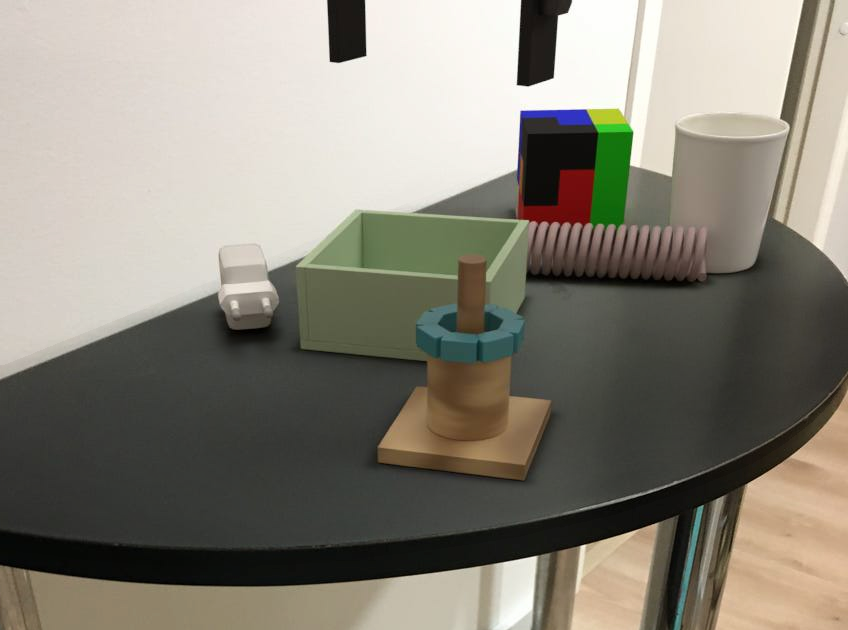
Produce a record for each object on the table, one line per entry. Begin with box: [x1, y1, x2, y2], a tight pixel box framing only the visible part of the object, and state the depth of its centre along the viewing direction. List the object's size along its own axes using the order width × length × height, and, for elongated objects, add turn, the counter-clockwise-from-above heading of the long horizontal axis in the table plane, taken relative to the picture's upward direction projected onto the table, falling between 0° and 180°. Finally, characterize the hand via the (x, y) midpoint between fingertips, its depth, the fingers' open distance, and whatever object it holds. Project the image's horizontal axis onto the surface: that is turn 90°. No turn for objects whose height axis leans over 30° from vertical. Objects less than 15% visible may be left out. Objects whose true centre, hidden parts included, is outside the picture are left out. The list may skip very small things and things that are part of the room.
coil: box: [526, 221, 708, 283], centre depth 101 cm, size 5×5×18 cm
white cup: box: [667, 111, 791, 274], centre depth 102 cm, size 10×10×12 cm
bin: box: [295, 208, 529, 362], centre depth 93 cm, size 16×16×7 cm
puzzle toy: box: [514, 108, 635, 233], centre depth 112 cm, size 10×10×10 cm
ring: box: [416, 303, 526, 364], centre depth 73 cm, size 7×7×1 cm
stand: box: [377, 254, 552, 481], centre depth 73 cm, size 10×10×12 cm
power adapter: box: [217, 243, 280, 331], centre depth 92 cm, size 11×5×6 cm, turn 10°
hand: (436, 70), depth 65 cm, fingers open, 13 cm apart
